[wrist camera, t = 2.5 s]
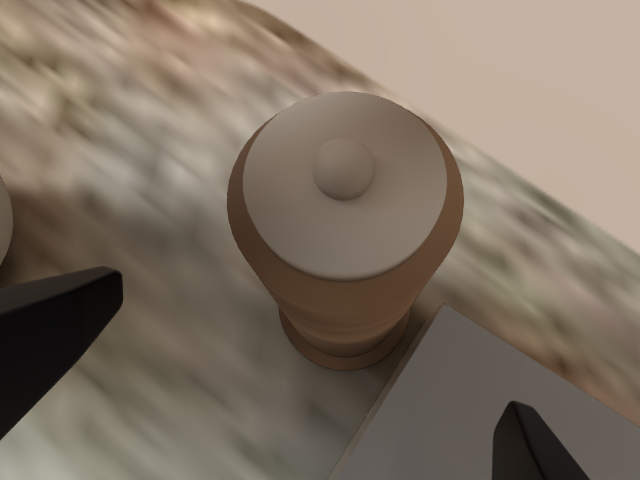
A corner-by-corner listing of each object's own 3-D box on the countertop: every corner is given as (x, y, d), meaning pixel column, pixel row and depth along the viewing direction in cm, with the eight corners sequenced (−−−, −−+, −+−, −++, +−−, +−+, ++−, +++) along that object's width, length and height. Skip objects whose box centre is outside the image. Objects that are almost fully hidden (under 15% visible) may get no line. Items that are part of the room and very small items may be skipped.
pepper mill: (434, 303, 20) (587, 146, 7) (345, 400, 19) (347, 407, 6) (342, 221, 22) (340, -20, 9) (255, 305, 20) (112, 158, 8)
